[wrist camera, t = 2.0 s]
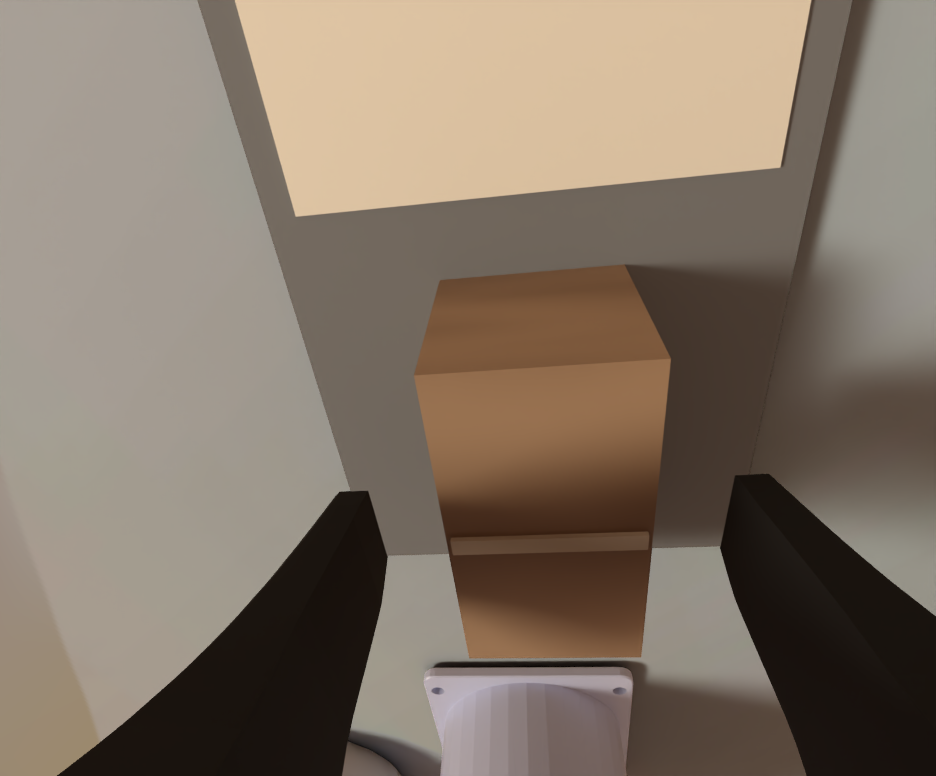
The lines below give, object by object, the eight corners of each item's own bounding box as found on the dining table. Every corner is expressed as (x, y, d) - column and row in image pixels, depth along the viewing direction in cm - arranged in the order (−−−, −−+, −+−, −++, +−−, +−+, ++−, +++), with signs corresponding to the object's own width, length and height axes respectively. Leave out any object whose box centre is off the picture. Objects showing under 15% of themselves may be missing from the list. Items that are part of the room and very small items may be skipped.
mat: (726, 530, 17) (734, 548, 16) (374, 541, 18) (370, 558, 17) (927, -456, 7) (965, -501, 6) (128, -282, 8) (98, -307, 8)
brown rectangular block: (613, 526, 16) (641, 661, 13) (477, 530, 16) (469, 662, 13) (624, 264, 12) (672, 361, 8) (439, 280, 12) (412, 378, 9)
